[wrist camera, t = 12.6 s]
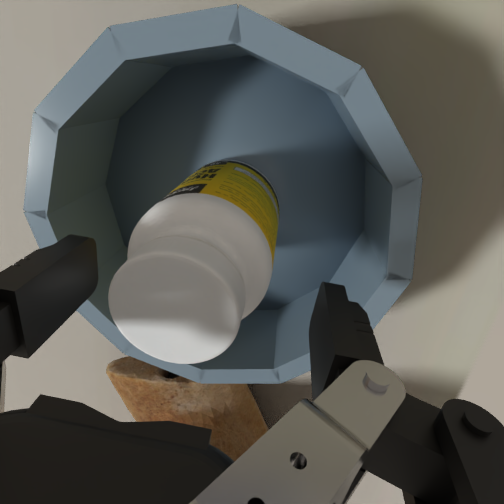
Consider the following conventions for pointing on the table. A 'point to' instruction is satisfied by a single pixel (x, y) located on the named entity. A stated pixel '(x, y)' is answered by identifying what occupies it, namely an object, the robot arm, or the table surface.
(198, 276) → the supplement bottle
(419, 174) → the slate bowl
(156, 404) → the stone cup
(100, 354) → the table surface
